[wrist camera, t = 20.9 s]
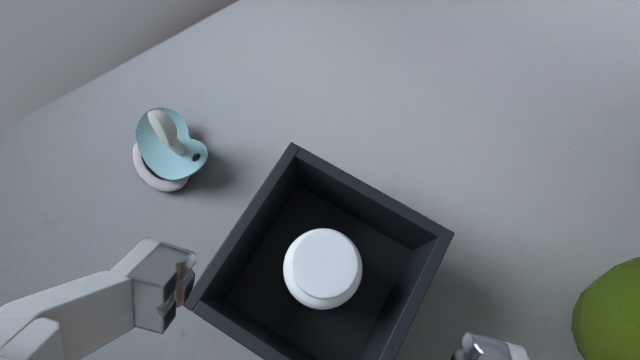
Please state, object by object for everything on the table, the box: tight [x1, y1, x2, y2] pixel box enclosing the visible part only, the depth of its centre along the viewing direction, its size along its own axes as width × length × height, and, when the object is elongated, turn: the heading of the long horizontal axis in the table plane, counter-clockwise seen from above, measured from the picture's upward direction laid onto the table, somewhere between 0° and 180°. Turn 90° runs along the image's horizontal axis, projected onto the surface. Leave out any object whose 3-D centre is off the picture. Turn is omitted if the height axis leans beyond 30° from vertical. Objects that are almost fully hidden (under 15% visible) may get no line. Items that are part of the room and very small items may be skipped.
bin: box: [183, 142, 454, 360], centre depth 27 cm, size 13×13×8 cm
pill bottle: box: [283, 228, 362, 310], centre depth 26 cm, size 5×5×9 cm
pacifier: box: [133, 108, 208, 192], centre depth 31 cm, size 7×6×6 cm
